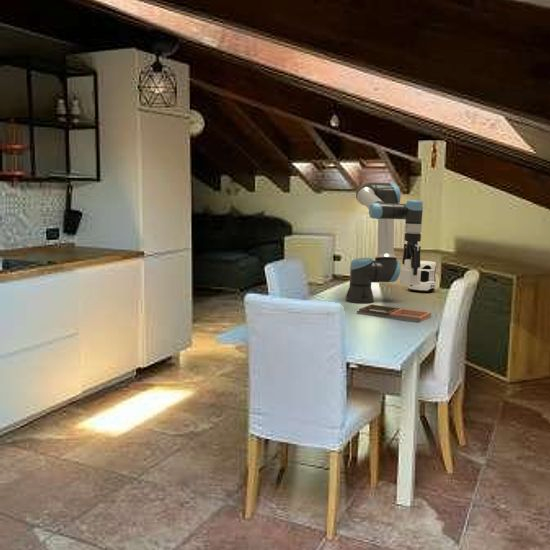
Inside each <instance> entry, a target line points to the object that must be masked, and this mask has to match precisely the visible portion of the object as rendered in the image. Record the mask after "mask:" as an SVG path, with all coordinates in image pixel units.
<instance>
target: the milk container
mask: <svg viewBox="0 0 550 550" xmlns="http://www.w3.org/2000/svg"><path fill="white" fill-rule="evenodd" d="M436 268H437V262H435V261H433V260H432V261H431V260H430V261H429V260H421V259H420V267H419V268H418V270H421V279H420V285H406V287H407V289H408V290H410V291H412V292H418V293H431V292H434V291H435V290H436V288H437V280H436V272H437V270H436Z"/></svg>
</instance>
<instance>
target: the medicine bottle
mask: <svg viewBox="0 0 550 550" xmlns="http://www.w3.org/2000/svg"><path fill="white" fill-rule="evenodd" d="M404 267H405V268H404ZM411 267H413V266H412V258H411V259H406V260H405V264H403V267H402V268H401V269H400V275H399V284H401V285H405V286H407V285H420V279H421V270H418V271H417V282H411V270H412V268H411Z"/></svg>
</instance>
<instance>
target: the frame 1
mask: <svg viewBox="0 0 550 550" xmlns="http://www.w3.org/2000/svg"><path fill="white" fill-rule="evenodd" d="M399 309H400V308H398V307H393V306H392V307H391V306H385V305H378V304H369V305H367V306H364V307H361V308H359V309H358V311H365V312H372V313H379V314H386V315H390V313H392V312H394V311H397V310H399Z"/></svg>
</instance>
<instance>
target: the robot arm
mask: <svg viewBox="0 0 550 550" xmlns="http://www.w3.org/2000/svg"><path fill="white" fill-rule="evenodd" d="M355 198H356V200H357V202H358V203H359V204H360V205H363V206H365V207H366V208H367V209H368V215H369V217H370V219H376V220H377V255H376V256H375V257H374V260H373V258H372V257H359V258H358V257H357V258H354V259H352V260H351V261H350V266H349V270H350V273H349V287H348V290H347V292H346V294H345V301H347V302H350V303H355V304H371V303H374V300H375V297H374V294H373V293H374V292H373V289H372V283H395V282H397V281H398V279H399V278H400V269H402V268H401V263H402V265H404V264H405V260H406V259H412V266H413V267H411V268H412V270H411V282H417V271H418V268H419V267H420V260H421V248H422V246H420V245H418V242H421V239H422V234H421V233H422V226H423V225H422V223H423V211H424V210H423V209H424V205H423V203H424V202H423V201H422V200H420V199H407V200H406V203H401V189H400V187H399V185H397V184H396V183H390V182H367V183H366V182H365V183H363V184H362V185H360V186H359V187H358V188H357V190H356V193H355ZM395 220H405V225H404V232H405V233H404V241H405V242H406V243H404V244H403V255H402V262H400V261H399V260H397V258H398V256H396V255H395V247H394V246H395ZM403 268H405V267H404V266H403Z"/></svg>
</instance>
